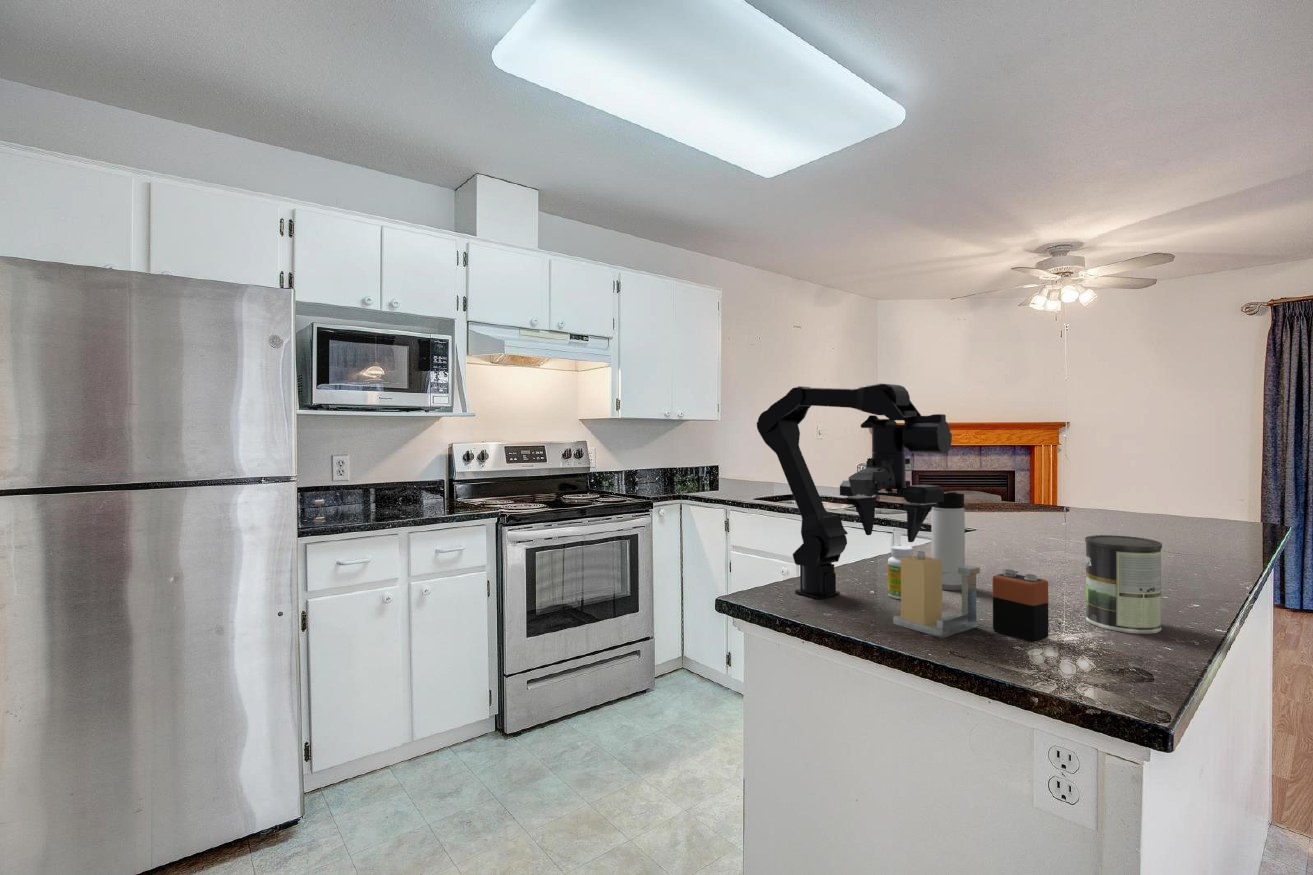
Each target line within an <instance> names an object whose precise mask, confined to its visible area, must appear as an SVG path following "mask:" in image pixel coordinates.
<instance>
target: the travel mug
mask: <svg viewBox="0 0 1313 875" xmlns="http://www.w3.org/2000/svg"><path fill="white" fill-rule="evenodd" d="M930 511H931V513H930V514H931V520H930V521H931V522H930V523H931V558H935V559H940V560H942V591H949V592H950V591H956V592H957V591H962V574H958V567H962V566H966V548H965V547H966V544H965V543H966V542H965V541H966V539H965V538H966V537H965V534H966V529H965V528H966V525H965V524H966V523H965V520H966V519H965V513H966V512H965V493H957V492H956V491H947V492H946V493H944V502H938V503H937V506H935V507H932V509H931V510H930Z"/></svg>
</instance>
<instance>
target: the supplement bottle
mask: <svg viewBox="0 0 1313 875" xmlns="http://www.w3.org/2000/svg"><path fill="white" fill-rule="evenodd" d="M890 553H891V555H892V556H891V557H889V558H888V560H887V595H888V596H889V597H890V598H892V599H895V600H901V558H906V557H912V556H914V548H913V547H912V546H907V545H893V546H891V547H890Z"/></svg>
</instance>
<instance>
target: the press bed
mask: <svg viewBox="0 0 1313 875" xmlns="http://www.w3.org/2000/svg"><path fill="white" fill-rule="evenodd" d="M958 574H962V590H961V612H960V613H956V614H954V613H949V612H946V611H942V619H938V620H937V622H933V623H929V624H925V625H924V624H921V623H917V622H914V621H911V620H907V619H904V618H901V614H899V615H895V616H893V620H892V621H893V622H892V624H893V625H896V626H900V627H902V628H907V629H911V630H913V631H917V632H921V633H925V634H926V635H927V634H928V635H931V636H935V637H938V638H942V639H945V638H947V637H950V636H954V635H956V634H959V633H963V632H967V631H969V630H972V629H975V628H977V575H978V574H981V567H980V566H977V565H976V566H975V565H969V564H967V565H965V566H962V567H958Z"/></svg>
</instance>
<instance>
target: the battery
mask: <svg viewBox="0 0 1313 875" xmlns="http://www.w3.org/2000/svg"><path fill="white" fill-rule="evenodd" d="M1001 571H1002V573H999V574H994V575H993V576H992V630H993V631H994V632H996V633H1000V634H1003V635H1006V636H1009V637H1012V638H1013V637H1014V638H1017V639H1020V640H1025V641H1028V642H1037V641H1041V640H1045V639H1047V638H1049V582H1048V580H1046V579H1044V578H1043V579H1042V578H1038V577H1037V575H1036V574H1032V573H1025V574H1024V575H1023V574H1019V571H1018V570H1017V569H1013V568H1003V569H1001Z"/></svg>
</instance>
